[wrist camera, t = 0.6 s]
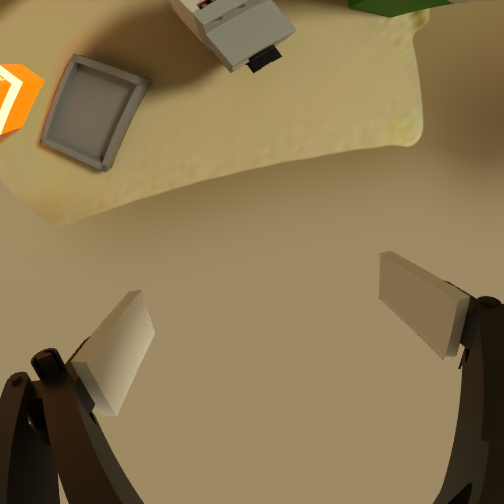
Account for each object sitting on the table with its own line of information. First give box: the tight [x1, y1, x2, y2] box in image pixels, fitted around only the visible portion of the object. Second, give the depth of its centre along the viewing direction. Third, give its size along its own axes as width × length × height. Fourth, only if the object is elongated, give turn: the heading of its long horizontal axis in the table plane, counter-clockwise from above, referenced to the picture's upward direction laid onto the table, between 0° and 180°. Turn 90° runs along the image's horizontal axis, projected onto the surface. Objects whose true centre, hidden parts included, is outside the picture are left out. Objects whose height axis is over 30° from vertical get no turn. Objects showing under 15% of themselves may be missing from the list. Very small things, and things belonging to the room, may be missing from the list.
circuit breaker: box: [170, 0, 296, 73], centre depth 21 cm, size 8×14×15 cm, turn 35°
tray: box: [40, 54, 152, 172], centre depth 29 cm, size 14×13×2 cm
